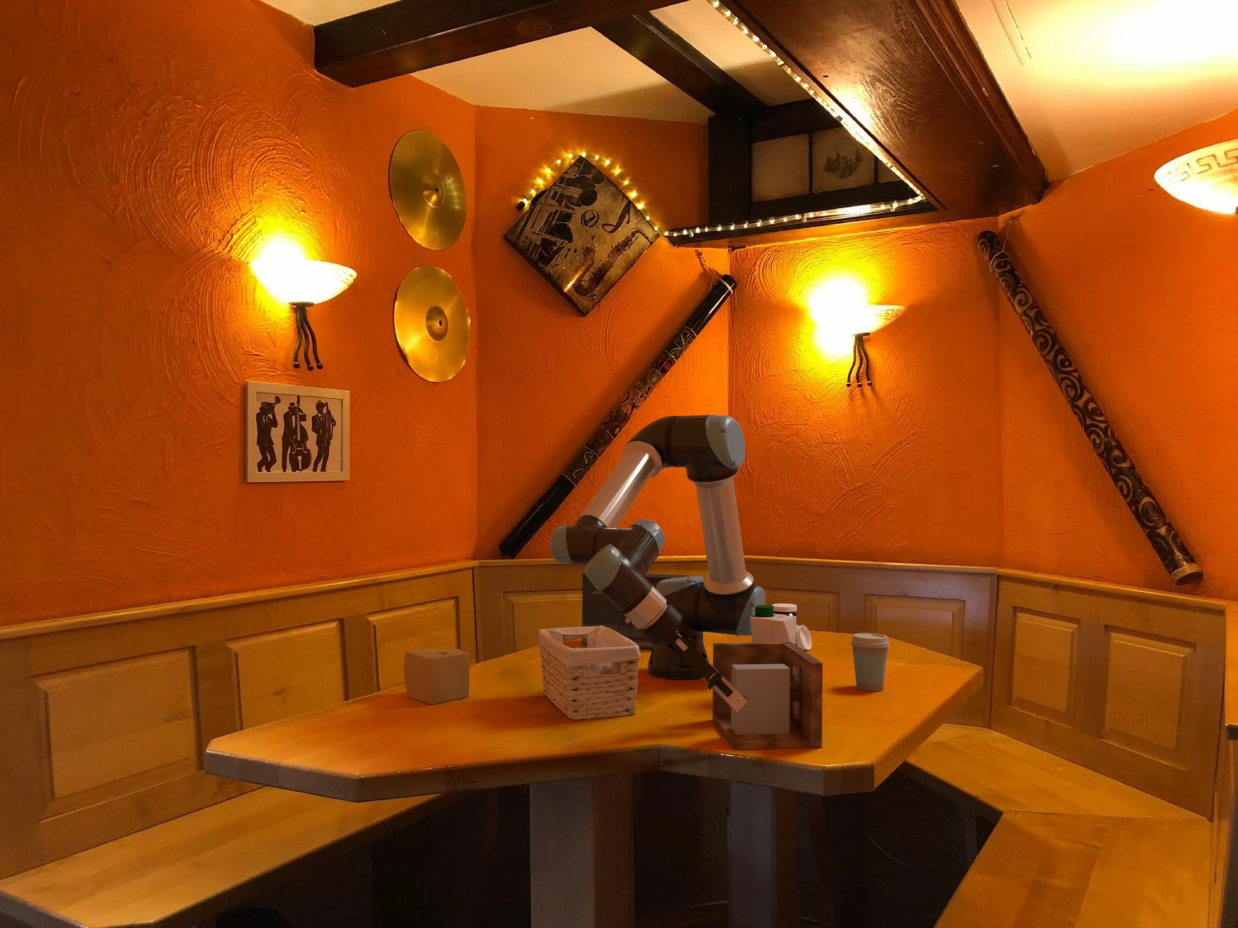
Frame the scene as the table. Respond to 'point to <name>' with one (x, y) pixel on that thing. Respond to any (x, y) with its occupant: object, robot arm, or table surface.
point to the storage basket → (590, 672)
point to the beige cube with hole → (436, 675)
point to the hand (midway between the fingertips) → (733, 697)
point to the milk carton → (772, 626)
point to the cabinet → (802, 694)
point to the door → (761, 699)
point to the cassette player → (613, 611)
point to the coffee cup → (870, 660)
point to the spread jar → (801, 631)
